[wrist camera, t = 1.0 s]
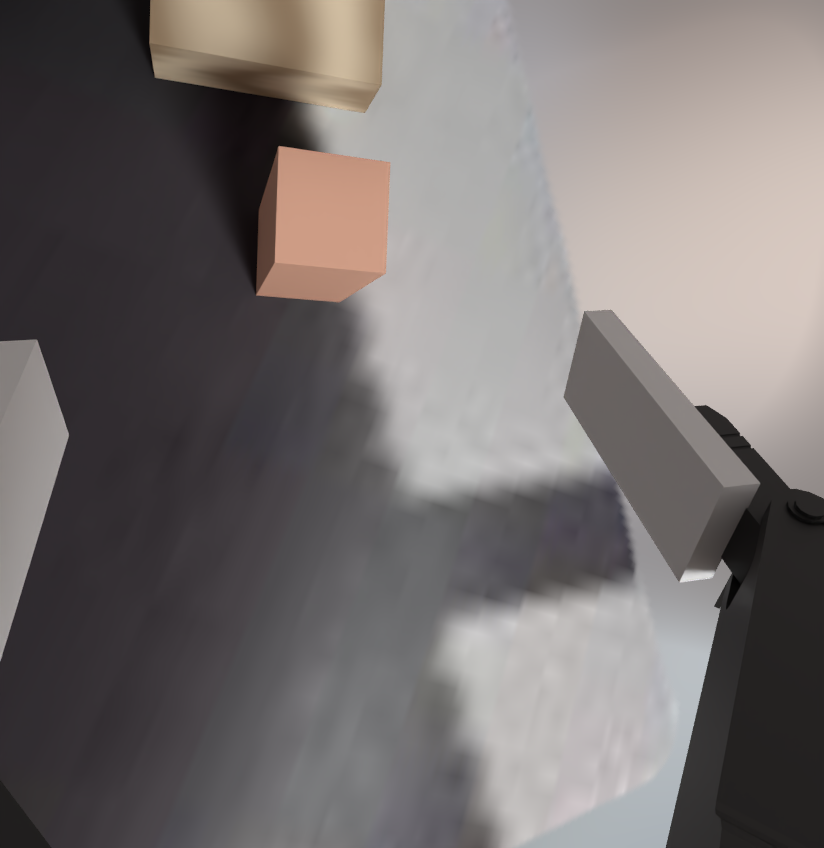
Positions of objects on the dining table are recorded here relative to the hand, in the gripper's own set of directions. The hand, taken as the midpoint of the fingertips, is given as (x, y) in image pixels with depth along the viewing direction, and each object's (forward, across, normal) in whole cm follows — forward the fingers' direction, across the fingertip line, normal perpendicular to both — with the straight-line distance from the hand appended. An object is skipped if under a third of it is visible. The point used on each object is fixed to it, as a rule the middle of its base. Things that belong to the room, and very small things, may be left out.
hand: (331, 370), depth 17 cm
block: (+24, 0, -8) cm, 26 cm away
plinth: (+33, 0, +4) cm, 33 cm away
